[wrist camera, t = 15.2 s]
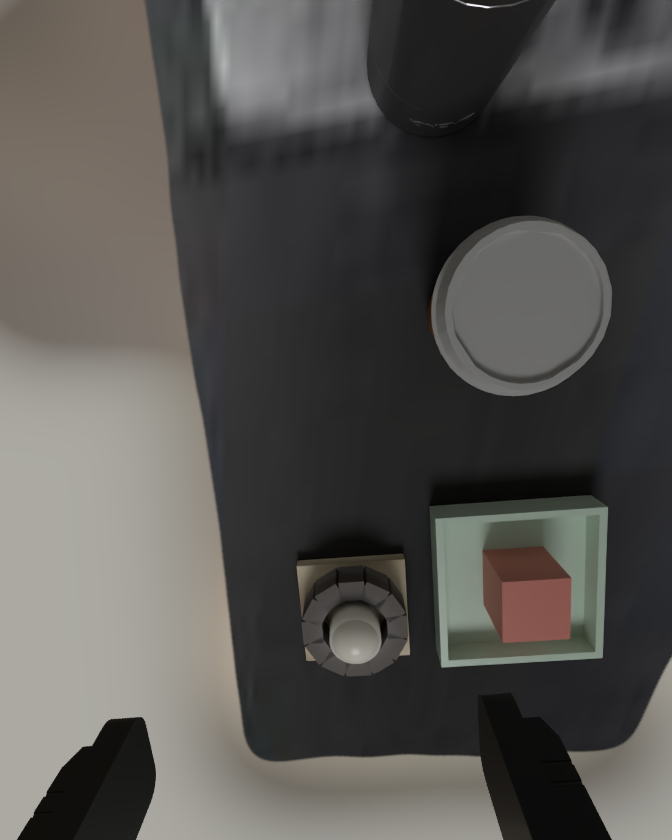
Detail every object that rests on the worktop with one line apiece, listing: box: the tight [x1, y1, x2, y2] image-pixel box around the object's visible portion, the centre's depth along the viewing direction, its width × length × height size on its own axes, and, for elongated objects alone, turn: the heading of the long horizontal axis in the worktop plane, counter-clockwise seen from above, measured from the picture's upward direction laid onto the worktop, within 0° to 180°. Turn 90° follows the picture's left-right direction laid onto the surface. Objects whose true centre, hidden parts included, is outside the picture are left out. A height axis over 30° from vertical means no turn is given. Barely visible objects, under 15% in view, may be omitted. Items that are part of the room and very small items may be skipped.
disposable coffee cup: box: [427, 216, 612, 396], centre depth 30 cm, size 10×10×12 cm
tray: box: [429, 495, 608, 667], centre depth 39 cm, size 13×13×3 cm
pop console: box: [297, 554, 410, 676], centre depth 40 cm, size 9×9×4 cm
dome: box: [330, 600, 381, 664], centre depth 37 cm, size 4×4×4 cm
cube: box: [482, 546, 572, 643], centre depth 37 cm, size 5×5×5 cm
